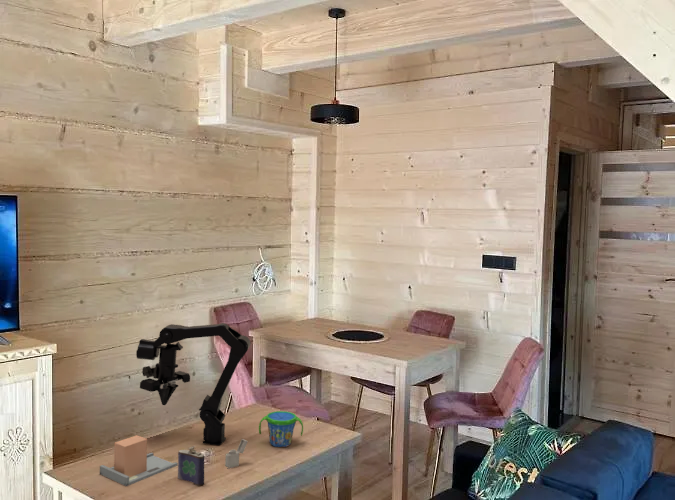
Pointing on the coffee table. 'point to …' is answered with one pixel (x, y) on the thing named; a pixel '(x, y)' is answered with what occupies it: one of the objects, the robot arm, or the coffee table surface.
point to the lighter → (235, 455)
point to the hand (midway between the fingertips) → (163, 404)
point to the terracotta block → (131, 456)
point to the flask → (191, 466)
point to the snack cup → (281, 427)
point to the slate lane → (153, 467)
